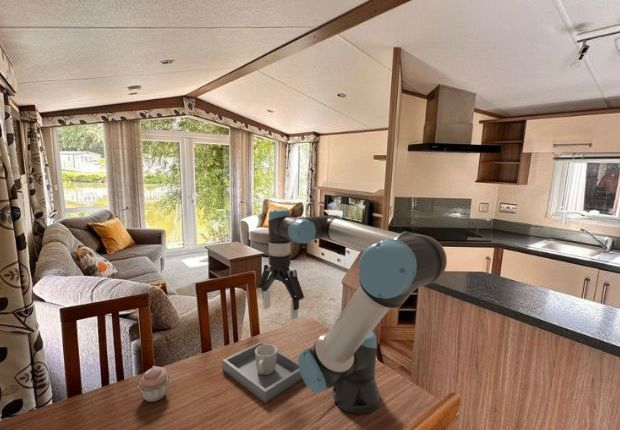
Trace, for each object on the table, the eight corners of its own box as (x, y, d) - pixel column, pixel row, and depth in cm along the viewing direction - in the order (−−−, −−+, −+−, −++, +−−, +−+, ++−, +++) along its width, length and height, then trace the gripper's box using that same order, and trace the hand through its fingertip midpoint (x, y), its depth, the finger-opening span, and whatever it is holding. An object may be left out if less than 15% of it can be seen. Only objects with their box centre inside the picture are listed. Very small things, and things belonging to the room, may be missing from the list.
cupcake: (157, 382, 106) (156, 354, 105) (177, 391, 102) (176, 362, 101) (131, 399, 98) (130, 369, 96) (151, 409, 94) (150, 379, 92)
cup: (270, 384, 105) (270, 362, 104) (248, 381, 107) (248, 359, 106) (280, 365, 116) (280, 345, 115) (259, 362, 117) (259, 342, 116)
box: (305, 377, 110) (305, 366, 110) (265, 403, 97) (265, 391, 97) (261, 350, 126) (261, 341, 126) (222, 370, 113) (222, 359, 113)
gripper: (314, 257, 104) (314, 319, 106) (263, 247, 119) (263, 301, 122) (299, 261, 98) (299, 326, 100) (248, 250, 114) (248, 306, 116)
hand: (279, 312), depth 111 cm, fingers open, 13 cm apart
